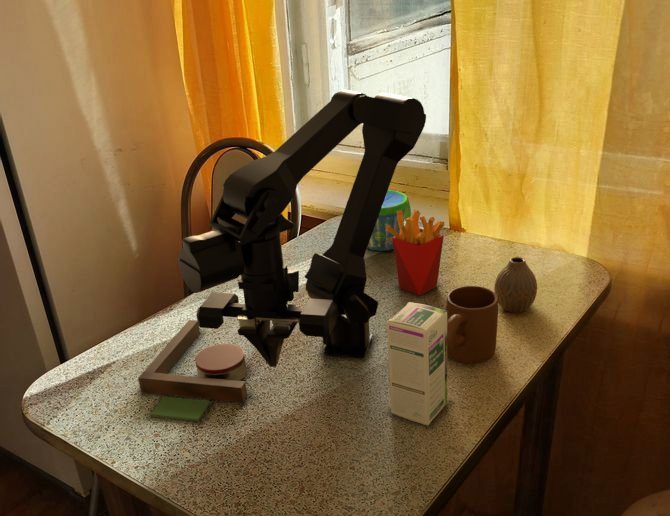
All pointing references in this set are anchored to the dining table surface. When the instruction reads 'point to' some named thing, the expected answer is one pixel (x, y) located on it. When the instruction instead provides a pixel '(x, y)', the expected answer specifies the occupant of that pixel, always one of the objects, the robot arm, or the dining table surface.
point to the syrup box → (418, 362)
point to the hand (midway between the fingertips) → (274, 365)
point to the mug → (471, 324)
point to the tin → (222, 362)
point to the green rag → (180, 409)
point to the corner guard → (187, 386)
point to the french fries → (417, 252)
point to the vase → (516, 286)
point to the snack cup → (389, 220)
